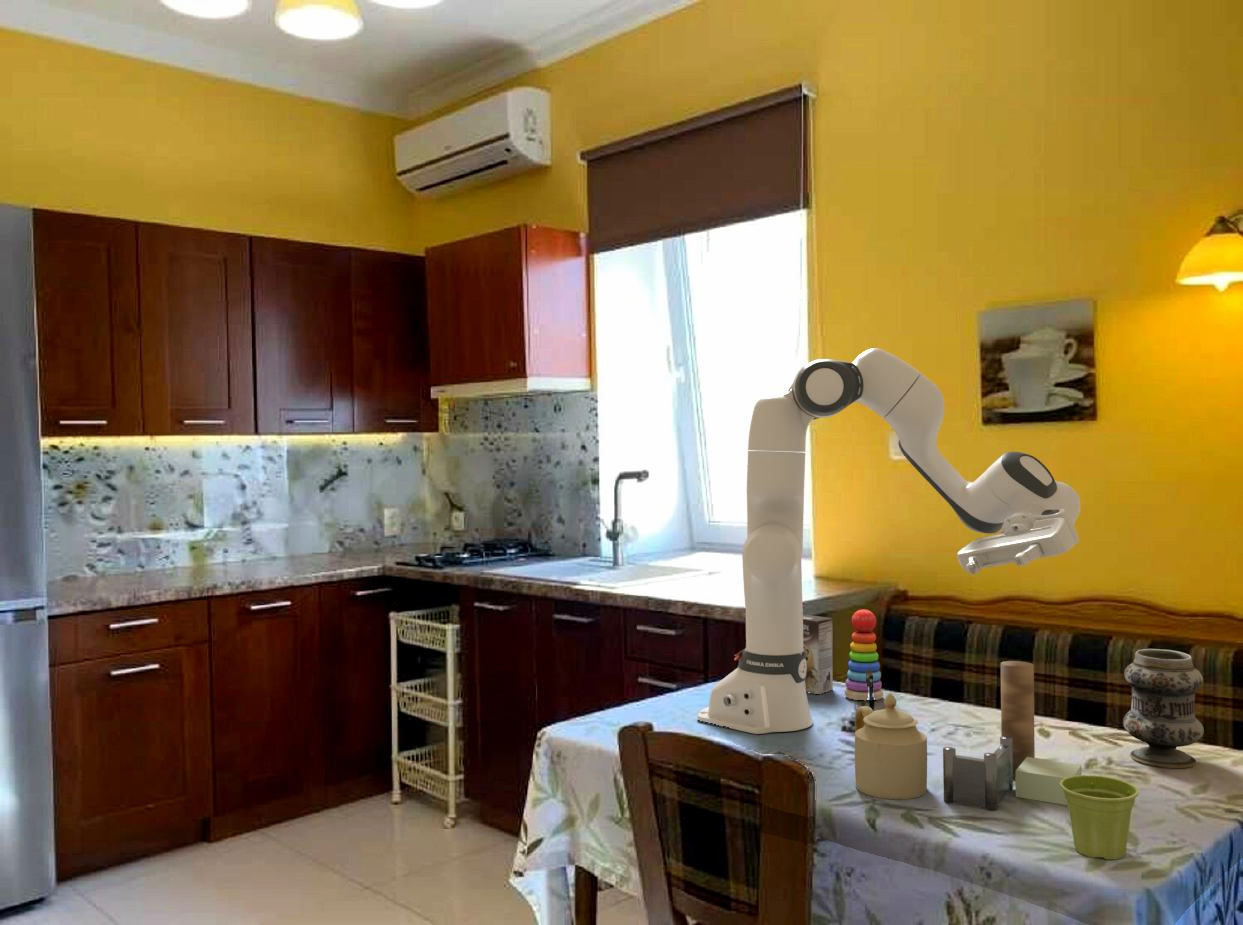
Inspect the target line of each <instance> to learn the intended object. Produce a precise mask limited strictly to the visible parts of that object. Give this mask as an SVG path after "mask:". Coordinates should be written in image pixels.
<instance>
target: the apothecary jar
mask: <svg viewBox="0 0 1243 925" xmlns="http://www.w3.org/2000/svg"><path fill="white" fill-rule="evenodd" d="M1123 676H1124V679H1125V680H1126V682H1127V683H1128V684H1129V685H1130V686H1131V705H1130V710H1129V711H1127V713H1126V714H1125V715H1124V717H1123V719H1122V725H1123V727H1124V730H1125V731H1126V732H1127V733H1128V734H1129V735H1131V736H1132V737H1134V739H1136V740H1138V741H1140V742H1143V743H1145V744H1147V745H1148V746H1142V747H1140V748H1136V749H1134V750H1132V751H1131V752H1130V754H1129V756H1130V757H1131V759H1133V760H1134V761H1135V762H1138V763H1141V764H1144V765H1148V766H1153V767H1156V768H1157V767H1158V768H1166V769H1167V768H1168V769H1187V768H1193V767H1194V766H1195V763H1197V760H1196V758H1194V757H1193V756H1192V755H1190V754H1188V753H1186V752H1184V751H1182V750H1180V749H1177V748H1179V747H1186V746H1190V745H1193V744H1195V743H1197V742H1198V741H1199V740H1200V739H1202V737H1203V735H1204V732H1205V730H1204V726H1203V724H1202V723H1201V722H1200V720H1199V719H1198V718H1196V707H1195V706H1196V692H1197V691H1199V690H1200V689H1201V688H1202V686H1203V685H1204V678H1203V675H1202V674H1201V672H1200V671H1199V670H1198V669H1196V668H1195V667H1194V663H1193V658H1192V656H1191V655H1190V654H1188V653H1185V652H1182V651H1178V650H1172V649H1160V648H1143V649H1138V650H1136V651H1135V653H1134V659H1133V661H1132V663H1130V664H1128V665H1127V666H1126V668H1125V669H1124V671H1123Z"/></svg>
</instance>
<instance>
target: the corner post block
mask: <svg viewBox="0 0 1243 925" xmlns="http://www.w3.org/2000/svg"><path fill="white" fill-rule="evenodd" d="M942 759H943V760H942V762H943V763H942V766H943V767H942V769H943V771H942V772H943V773H942V774H943V776H942V777H943V780H942V782H943V802H944V803H946V804H953V805H955V804H956V805H959V806H965V807H966V806H967V807H973V808H976V809H977V808H978V809H982V810H983V809H984V810H987V811H995V812H996V811H997V810H998V806H999V805H1000V804H1001V803H1002V801H1003V800H1004V799H1005V798H1006V796H1008V793H1010V792H1012V791H1013V790H1014V779H1013V747H1012V737H1008V736H999V747H997V749H996V750H994V751H993V752H985V753H983V758H978V757H972V756H964V755H957V754H956V747H951V746H945V747H942Z"/></svg>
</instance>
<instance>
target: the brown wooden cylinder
mask: <svg viewBox="0 0 1243 925" xmlns="http://www.w3.org/2000/svg"><path fill="white" fill-rule="evenodd" d="M1034 667H1035V666H1034V664H1033V663H1031V662H1028V661H1022V660H1006V661H1002V662H1000V711H1001V712H1000V717H1001V718H1000V719H1001V721H1000V722H1001V724H1000V725H1001V726H1000V728H1001V729H1000V730H1001V732H1000V733H1001V736H1008V737H1012V747H1013V780H1016V770H1017V768H1018V767H1019V766H1020V765H1021V763H1022V762H1023V761H1024V760H1025V759H1026V757H1032V758H1036V757H1035V753H1036V752H1035V748H1036V747H1035V745H1036V744H1035V678H1034V677H1035V675H1034V674H1035V672H1034ZM1001 736H1000V737H1001Z"/></svg>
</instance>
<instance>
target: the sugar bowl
mask: <svg viewBox="0 0 1243 925" xmlns="http://www.w3.org/2000/svg"><path fill="white" fill-rule="evenodd" d="M883 704H884V706H885V708H882V709H877V710H873V709H872V708H871V707H869V706H867V705H864V706H863V705H862V706H860V707H858V708H857V709H856V711H855V714H854V729H855V732H854V774H855V775H854V778H855V779H854V780H855V783H854V784H855V787H856V789H857V790H858V791H859V792H861V793H862V794H865V795H867V796H871V797H874V798H878V799H884V800H885V799H886V800H911V799H916V798H919V797H922V796H923V795H925V794H926V793H927V789H928V739H927V738H928V737H927V735H926V734H925V733H924V732H922V731H920V730H918V728H917V725H918V724H919V721H918V720H917V719H916V718H915V717H912V715H911V714H910V713H908V712H906V711H903V710H901V709H900V710H899V709H896V708H895V707H896V706H897V699H896V697H895V696H894V694H892V693H891V692H890V693H887V695H886V696H885V698H884V700H883Z"/></svg>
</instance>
